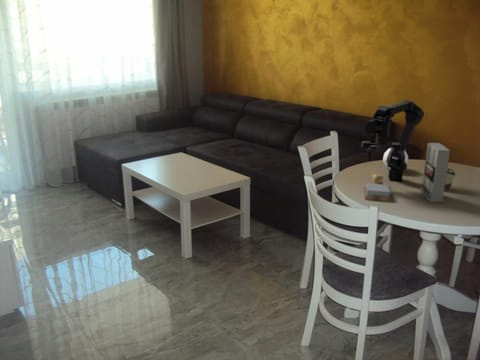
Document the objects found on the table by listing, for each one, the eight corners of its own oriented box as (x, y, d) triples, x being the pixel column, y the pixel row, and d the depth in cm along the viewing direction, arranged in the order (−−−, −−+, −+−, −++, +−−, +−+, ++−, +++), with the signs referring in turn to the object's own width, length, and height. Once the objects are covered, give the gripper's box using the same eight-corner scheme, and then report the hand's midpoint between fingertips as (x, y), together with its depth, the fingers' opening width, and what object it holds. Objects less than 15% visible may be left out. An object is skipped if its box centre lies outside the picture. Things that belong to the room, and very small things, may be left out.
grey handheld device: (419, 192, 234) (426, 142, 226) (432, 192, 234) (439, 142, 226) (429, 202, 221) (436, 150, 213) (442, 202, 221) (450, 150, 213)
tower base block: (389, 194, 234) (389, 189, 233) (391, 202, 223) (391, 197, 222) (363, 192, 236) (364, 187, 235) (364, 200, 225) (365, 196, 224)
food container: (453, 187, 241) (456, 168, 238) (453, 190, 236) (456, 171, 233) (427, 183, 246) (430, 165, 243) (426, 187, 241) (429, 168, 238)
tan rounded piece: (381, 183, 246) (382, 174, 245) (382, 186, 242) (383, 177, 240) (371, 182, 247) (372, 173, 246) (372, 186, 243) (373, 176, 241)
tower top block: (387, 189, 232) (387, 184, 231) (389, 197, 223) (389, 191, 222) (366, 188, 234) (366, 183, 233) (367, 195, 225) (367, 190, 224)
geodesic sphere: (413, 157, 272) (400, 138, 270) (416, 164, 259) (402, 144, 257) (391, 170, 277) (378, 151, 275) (392, 178, 264) (379, 158, 262)
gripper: (363, 134, 230) (360, 165, 235) (404, 136, 226) (400, 168, 231) (363, 129, 240) (360, 159, 245) (401, 131, 237) (398, 161, 242)
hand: (379, 162), depth 241 cm, fingers open, 9 cm apart
